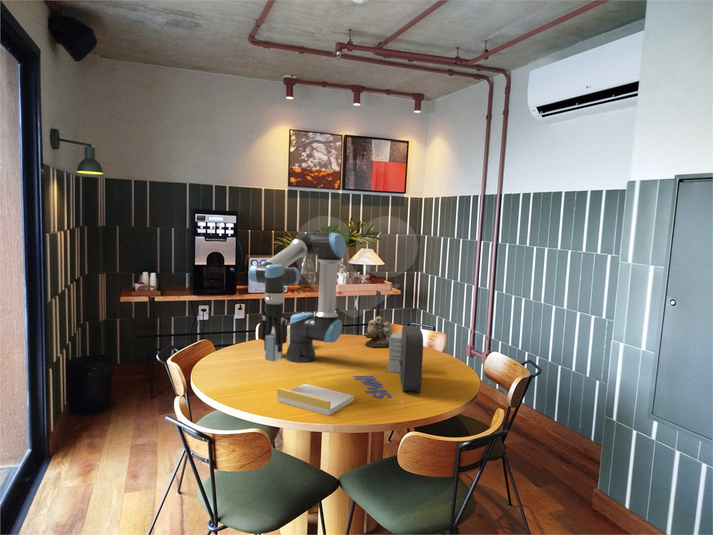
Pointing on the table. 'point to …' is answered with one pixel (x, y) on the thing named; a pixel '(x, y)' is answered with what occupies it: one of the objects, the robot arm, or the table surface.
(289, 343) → the coffee cup
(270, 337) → the carton
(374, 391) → the signage
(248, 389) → the table surface
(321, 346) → the table surface
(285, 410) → the table surface
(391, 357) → the supplement box
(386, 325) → the owl figurine
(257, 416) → the table surface
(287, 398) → the display plank
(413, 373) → the speaker
